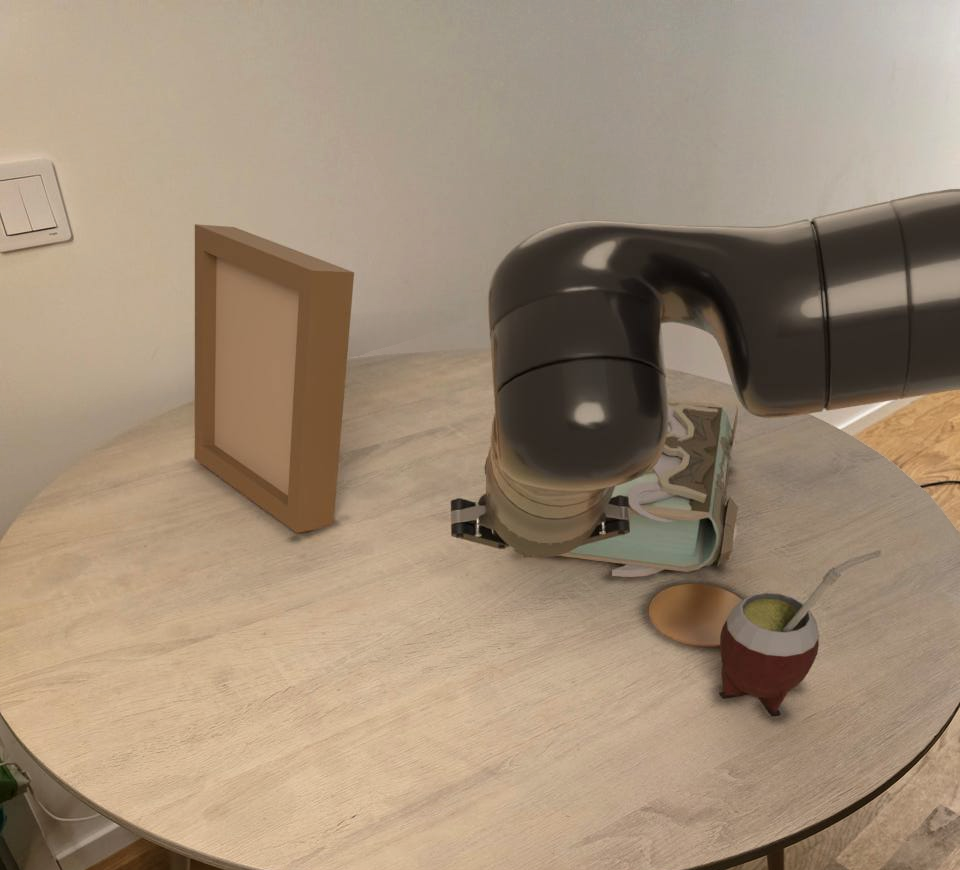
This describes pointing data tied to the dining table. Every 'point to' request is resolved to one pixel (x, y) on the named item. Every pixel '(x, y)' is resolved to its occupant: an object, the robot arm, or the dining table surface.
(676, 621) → the shallow brown plate
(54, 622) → the dining table surface
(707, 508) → the ornate book
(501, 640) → the dining table surface
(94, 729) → the dining table surface
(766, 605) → the mate gourd
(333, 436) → the photo frame
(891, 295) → the robot arm
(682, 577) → the dining table surface
